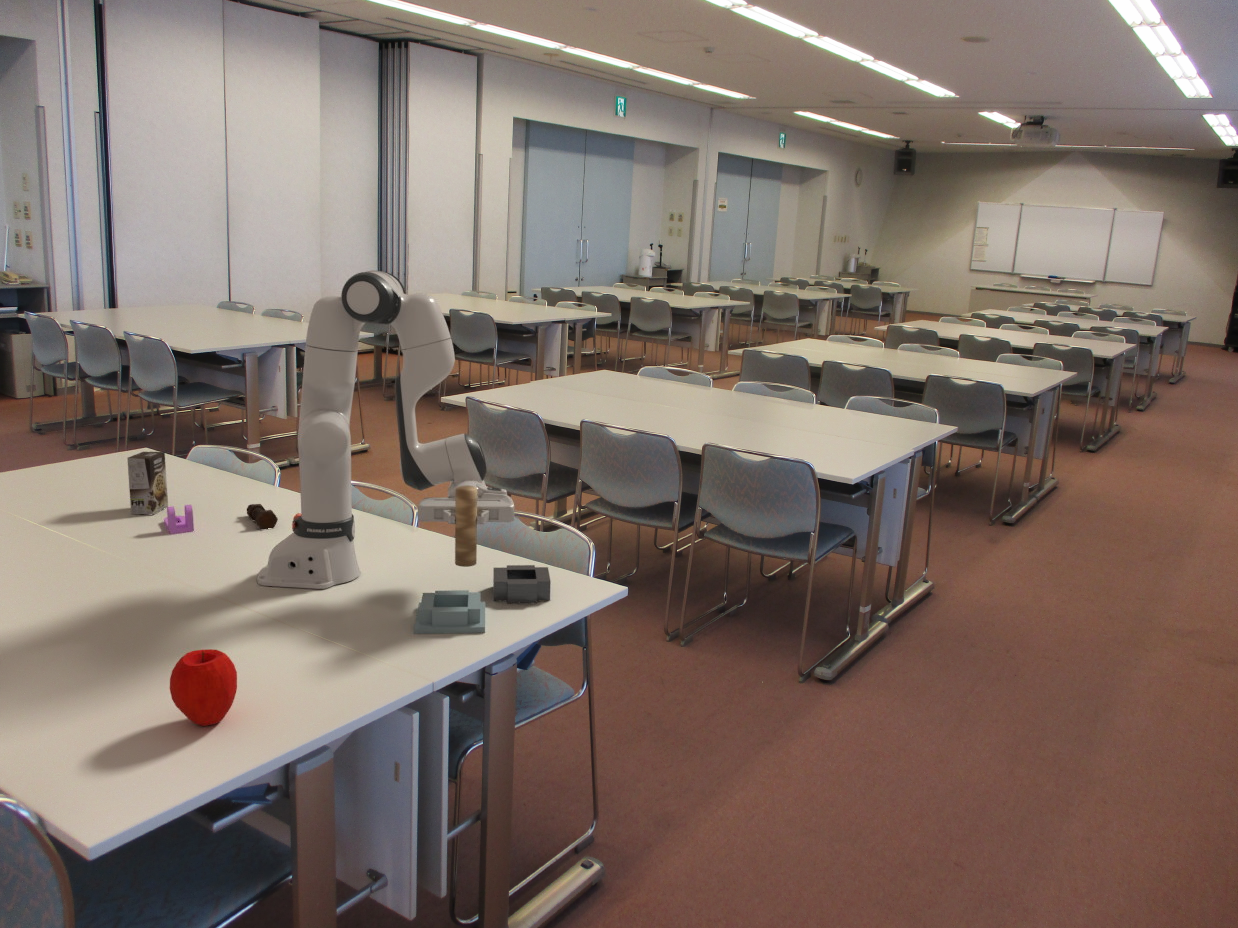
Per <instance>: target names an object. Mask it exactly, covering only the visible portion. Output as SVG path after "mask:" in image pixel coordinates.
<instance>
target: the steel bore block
mask: <svg viewBox="0 0 1238 928" xmlns="http://www.w3.org/2000/svg"><path fill="white" fill-rule="evenodd" d="M492 577H493V578H492V579H493V581H492V582H493V584H492V585H493V588H492V589H493V594H492V597H493V598H494V599H493V602H506V603H507V604H510V605H511V604H512V605H513V604H537V603H538V601H537V600H550V601H551V585H552V584H551V581H552V580H551V577H550V570H549V567H547V566H545V567H544V566H543V567H541V566H540V567H539V566H536V565H535V564H528V565H527V564H517V565H514V564H513V565H511V564H510V565H506V567H493V576H492Z"/></svg>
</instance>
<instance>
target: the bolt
mask: <svg viewBox="0 0 1238 928" xmlns="http://www.w3.org/2000/svg"><path fill="white" fill-rule="evenodd" d="M246 514H247V516H248V517H249V518H250V520H251V519H252V520H255V521H254V522H255V524H256V525H257V526H258V528H259V530H261V529H266V530H269V529H268V528H272V529H274V528H275V527H276V525H277V523H278V520H279V519H278V517H277V515H276V514H275V512H273V510H271V509H268V510H267V509H265V507H264V506H263V505H262V504H261V503H252V504H251V503H250V504H249V505H247V508H246ZM252 520H251V521H252Z"/></svg>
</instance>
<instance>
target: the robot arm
mask: <svg viewBox="0 0 1238 928" xmlns="http://www.w3.org/2000/svg"><path fill="white" fill-rule="evenodd" d="M341 289H342V290H341V294H340V295H341V296H335V295H333V296H332V295H329V296H325V297H322V298H320V299H318V300H316V302H315V303H314V305H313V307H312V310H311V312H310V316H309V317H310V318H309V321H308V325H307V332H306V337H305V338H306V339H305V348H304V361H303V363H304V364H303V372H302V373H303V374H302V382H301V383H302V386H301V396H300V397H301V398H300V407H299V409H300V410H299V419H298V420H299V421H298V433H297V447H298V450H297V451H298V466H299V470H298V471H299V487H300V489H299V490H300V510H301V511H300V512H301V513H300V512H297V513H295V515H294V516H293V518H292V524H291V528H292V533H291V534H289V535H288V536H286V537H285V538H284V539H283V540H281V541H280V542H279V543H277V544H276V545H275V546H274V547H273V548H272V550H271V551H270V553H269V556H268V561H267V564H266V565H265V566H264V567H262V568H261V569H260V570H259V572H258V574H257V579H256V581H257V583H258V585H260V586H265V587H267V586H268V587H270V586H271V587H281V588H282V587H283V588H297V589H298V588H300V589H301V588H302V589H319V590H322V589H323V590H325V589H328V588H330V587H333V586H335V585H339V584H344V583H348V582H350V581H353V580H356V579H357V578H358V577H360V575H361V572H362V571H361V570H360V567H359V563H358V560H357V554H356V550H355V543H354V539H355V536H356V531H355V530H356V529H355V528H356V527H355V515H354V514H353V513H352V512H353V510H352V509H353V507H352V504H353V503H352V501H353V500H352V440H351V439H352V436H351V429H350V423H351V415H352V407H353V399H354V398H353V397H354V392H355V383H356V372H357V362H358V350H359V340H360V333H361V330H362V328H363V326H364V325H365V324H372V325H374V324H376V325H377V324H379V325H390V326H392V327H393V328H394V330H395V332H396V334H397V338H398V340H399V344H400V348H401V352H402V358H403V361H402V362H403V363H402V368H401V372H400V373H399V374H398V375H397V376H396V377H395V381H394V398H395V401H394V402H395V410H396V420H397V430H398V431H397V432H398V442H399V451H400V452H399V453H400V454H399V472H400V475H401V478H402V480H403V481H404V484H405V485H407V486H408V487H410V488H412V489H414V490H417V491H420V492H421V491H424V490H426V489H427V490H428V489H429V488H432V487H435V486H437V485H440V484H443V483H444V484H445V483H448V482H450V483H449V485H448V490H447V496H446V497H437V496H435V497H434V496H433V497H424V498H422V499H421V501H419V502H418V505H417V520H418V521H420V522H427V523H428V522H430V523H431V522H432V523H436V522H437V523H438V522H439V523H444V522H445V523H448V525H455V501H456V488H457V487H462V486H471V487H476V488H477V525H484V524H485V523H512V522H514V521H515V503H514V500H513V499H512V497H511V496H509V495H508V491H507V489H504V488H497V487H493V486H492V487H491V486H487V485H486V482H485V478H486V475H487V473H488V472H487V469H488V468H487V463H486V457H485V454H484V451H483V449H482V446H481V444H480V443H479V441H478V440H477V439H475V437H473V436H471V435H470V434H467V433H466V432H463V433H461V434H457V435H453V436H449V437H448V436H447V437H444V438H442V439H438V440H434V441H430V442H426V443H420V442H419V439H418V432H417V431H418V430H417V429H418V427H417V419H416V406H417V403H418V401H419V400H420V399H421V398H422V397H423V396H424V395H425V394H426V393H428V392H429V391H430V390H432V389H433V388H435V387H436V386H437V385H439V384H440V383H441V382H443V381H444V380H445V379H446V378H447V377H449V375H450V374H451V373H452V370H453V368H454V366H455V362H456V357H455V351H454V344H453V340H452V337H451V334H450V331H449V330H450V329H449V327H448V324H447V322H446V319H445V316H444V314H443V312H442V310H441V307H440V306H439V303H438V301H437V299H436V298H435V297H433V296H432V295H430V294H427V293H423V292H421V293H419V292H418V293H417V292H416V293H412V294H406V290H405V287H404V285H403V283H402V282H401V281H400V279H398V277H396V276H395V275H393V274H392V273H389V272H385V271H381V270H367V271H361V272H358V273H356V274H353V276H351V277H350V278H348V279H347V280H346V282H345V283H344V285H343V287H342V288H341Z"/></svg>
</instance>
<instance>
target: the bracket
mask: <svg viewBox="0 0 1238 928" xmlns="http://www.w3.org/2000/svg"><path fill="white" fill-rule="evenodd" d="M193 511H194V510H193V506H192V504H184V515H176V509H175V506H172V505H171V506H168V507H167V508H166V514H167V517H164V519H163V521H164V522H163V523H164V526H165V525H166V526H165V528H166V529H167V530H169V531H168V533H170V535H177V533H178V534H184V533H185V534H186V532H187V533H194V532H195V527H194V525H195V524H194V512H193ZM176 521H179V522H176ZM193 531H194V532H193ZM175 533H176V534H175Z"/></svg>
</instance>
